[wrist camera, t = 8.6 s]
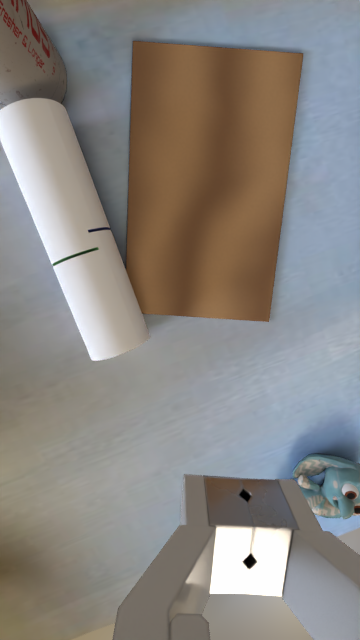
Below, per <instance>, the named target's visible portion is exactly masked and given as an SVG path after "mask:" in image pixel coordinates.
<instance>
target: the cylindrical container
mask: <svg viewBox="0 0 360 640" xmlns="http://www.w3.org/2000/svg"><path fill="white" fill-rule="evenodd" d="M0 141H1V143H2V145H3V148H4V150H5V153H6V155H7V157H8V160H9V162H10V165H11V167H12V170H13V172H14V174H15V177H16V179H17V182H18V184H19V186H20V189H21V191H22V194H23V196H24V198H25V201H26V203H27V206H28V208H29V210H30V213H31V215H32V218H33V220H34V223H35V225H36V227H37V230H38V232H39V235H40V237H41V239H42V242H43V244H44V247H45V249H46V251H47V254H48V256H49V259H50V261H51V264H52V265H53V266H54V267H53V268H54V271H55V273H56V276H57V278H58V280H59V283H60V285H61V288H62V290H63V292H64V295H65V297H66V300H67V302H68V304H69V307H70V309H71V312H72V314H73V316H74V319H75V321H76V324H77V326H78V328H79V331H80V333H81V336H82V338H83V341H84V343H85V345H86V348H87V350H88V353H89V355H90V357H91V360H93V361H99V360H105V359H108V358H112V357H115V356H118V355H121V354H123V353H126V352H128V351H130V350H132V349H134V348H136V347H138V346H140V345H142V344H143V343H145V342H146V341H148V340H149V339H150V334H149V331H148V329H147V326H146V323H145V321H144V318H143V315H142V312H141V310H140V307H139V304H138V302H137V299H136V296H135V294H134V291H133V288H132V285H131V283H130V280H129V277H128V275H127V272H126V269H125V267H124V264H123V261H122V259H121V256H120V253H119V251H118V248H117V245H116V243H115V240H114V237H113V234H112V232H111V230H110V226H109V224H108V221H107V218H106V216H105V213H104V210H103V207H102V205H101V202H100V199H99V197H98V194H97V191H96V189H95V186H94V183H93V180H92V178H91V175H90V172H89V170H88V167H87V164H86V162H85V159H84V156H83V153H82V151H81V148H80V145H79V143H78V140H77V137H76V135H75V132H74V129H73V127H72V124H71V121H70V119H69V116H68V113H67V111H66V108H65V107H64V106H63V105H62V104H60V103H59V102H57V101H54V100H51V99H45V98H30V99H23V100H20V101H16V102H14V103H11V104H9V105H7V106H6V107H4V108H2V109H1V110H0Z"/></svg>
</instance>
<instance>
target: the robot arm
mask: <svg viewBox="0 0 360 640" xmlns="http://www.w3.org/2000/svg"><path fill="white" fill-rule="evenodd" d="M215 593H216V594H256V595H268V596H282V597H283V600H284V602H285V603H286V604H287V605H288V607H289V608H290V609H291V611H292V612H293V613H294V615H295V616H296V617H297V619H298V620H299V621H300V623H301V624H302V625H303V627H304V628H305V629H306V631H307V632H308V633H309V635H310V636H311V637H312V638H313V640H360V555H359V554H357V553H356V552H355V551H354V550H352V549H351V548H350V547H348V546H347V545H346V544H345V543H343V542H342V541H341V540H339V539H338V538H337V537H336V536H334V535H333V534H332V533H330V532H328V531H323V530H322V528H321V526H320V524H319V523H318V521H317V519H316V517H315V515H314V513H313V511H312V510H311V508H310V506H309V504H308V502H307V500H306V498H305V497H304V495H303V493H302V491H301V489H300V487H299V485H298V484H297V482H296V481H295V480H294V479H275V480H272V479H248V478H234V477H220V476H206V475H203V476H202V475H187V474H184V478H183V490H182V503H181V519H180V525H179V527H178V528H177V529H176V531H175V532H174V533H173V535H172V536H171V537H170V539H169V540H168V541H167V543H166V544H165V545H164V547H163V548H162V549H161V551H160V552H159V554H158V555H157V556H156V558H155V559H154V560H153V562H152V563H151V564H150V566H149V567H148V568H147V570H146V571H145V572H144V574H143V575H142V577H141V578H140V579H139V581H138V582H137V583H136V585H135V586H134V587H133V589H132V590H131V591H130V593H129V594H128V595H127V597H126V598H125V599H124V601H123V602H122V604H121V605H120V606H119V608H118V611H117V617H116V623H115V629H114V635H113V640H210V632H209V623H208V622H207V620H206V619H205V618H204V617H203V616H202V613H203V611H204V608H205V606H206V603H207V601H208V599H209V597H210V594H215Z"/></svg>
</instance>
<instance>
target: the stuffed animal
mask: <svg viewBox="0 0 360 640" xmlns="http://www.w3.org/2000/svg"><path fill="white" fill-rule="evenodd" d="M325 469H326V471H325V479H324V483H323V485H321V486H319V485H318V484H316V483H314V482H313V481H311V480H310V479H308V478H307V477H308V476H314V475H319V474H320V473H322V472H323V471H324V470H325ZM292 477H294V478H298V484H299V485H300V486H301V487H300V489H301V491H302V493H303V495H304V497H305V498H306V500H307V502H308V504H309V506H310V508H311V510H312V511H313V513H314V514H315V515H319V516H322V517H325V518H340V517H342V518H343V519H347V518H350V517H351V516H352V515H360V464H359V463H356V462H353V461H351V460H347V459H344V458H341V457H337V456H330V455H321V454H309V455H307V456H306V457H305V458H303V459H302V460H301V461H299V463H298V464H297V466H296V467H295V469H294V470H293V476H292Z"/></svg>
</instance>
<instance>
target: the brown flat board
mask: <svg viewBox="0 0 360 640" xmlns="http://www.w3.org/2000/svg"><path fill="white" fill-rule="evenodd" d="M302 61H303V53H289V52H276V51H262V50H249V49H235V48H222V47H209V46H195V45H182V44H168V43H155V42H141V41H133V56H132V90H131V123H130V157H129V190H128V224H127V258H126V272H127V275H128V277H129V280H130V283H131V285H132V288H133V291H134V294H135V296H136V299H137V302H138V304H139V307H140V310H141V312H142V313H143V314H159V315H174V316H189V317H204V318H219V319H235V320H250V321H265V322H269V318H270V310H271V302H272V294H273V287H274V279H275V271H276V263H277V256H278V248H279V240H280V232H281V225H282V217H283V209H284V201H285V193H286V186H287V178H288V170H289V162H290V155H291V147H292V139H293V131H294V123H295V116H296V108H297V100H298V92H299V85H300V77H301V69H302Z"/></svg>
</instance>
